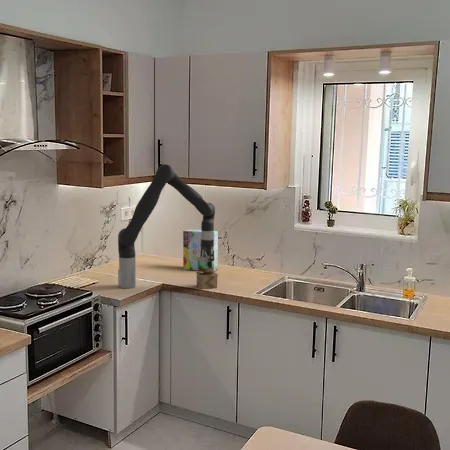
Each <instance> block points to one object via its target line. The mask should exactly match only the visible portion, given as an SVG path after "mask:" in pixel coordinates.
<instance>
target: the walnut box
mask: <svg viewBox="0 0 450 450" xmlns="http://www.w3.org/2000/svg"><path fill="white" fill-rule="evenodd" d="M195 273H196V286H197V287H198V288H200V289H201V290H209V289H210V290H211V289H217V288H218V276H219V274H218V273H216V271H214V272H213V273H212V274H199V271H196V272H195Z"/></svg>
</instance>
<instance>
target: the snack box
mask: <svg viewBox="0 0 450 450" xmlns="http://www.w3.org/2000/svg"><path fill="white" fill-rule="evenodd" d="M182 235H183V236H182V239H183V241H182V243H183V244H182V247H183V248H182V249H183V256H182V257H183V263H182V265H183V270H185V271H186V270H188V271H198V262H197V257H201V229H189V228H188V229H185V230H183V233H182ZM218 246H219V231H218V230H217V231H216V230H214V246H213V247H212V248H211V250H214V257H215V259H214V265H213V272H216V271H218V270H219V267H218V266H219V265H218V264H219V263H218V262H219V261H218V260H219V257H218V256H219V252H218V251H219V247H218Z"/></svg>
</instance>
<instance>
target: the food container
mask: <svg viewBox="0 0 450 450" xmlns="http://www.w3.org/2000/svg"><path fill="white" fill-rule="evenodd" d="M212 259H213V258H212ZM214 259H215V257H214ZM197 262H198V270H197V272H199V274H212V273H213V265H214V261H212V268H208V258H207V257H206V256H204V257H197Z"/></svg>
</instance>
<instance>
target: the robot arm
mask: <svg viewBox="0 0 450 450" xmlns="http://www.w3.org/2000/svg"><path fill="white" fill-rule="evenodd" d="M167 184H168V185H170V186H171V187H172V188H173V189H175V190H176V191H177V192H178V193H180V195H181V196H182V197H184V199H185V200H187V201H188V202H189V203H190V204H192V206H194V208H195V209H196V210H197V211H198V212H199V213H200V214H201V215H202V221H201V228H200V230H201V257H204V256H206V257H207V258H208V268H212V261H214V250H211V248H212V247H213V246H214V231H215V230H214V229H215V224H214V223H215V215H216V208H215V205H214V204H213V203H211V202H206V200H205V199H203V196H202V195H201V194H200V193H199V192H197V190H195V189H194V188H193V187H191V186H190V185H188V184H187V182H185V181H183V180H182V179H181V178H180V177H179V176H178V174H177V173H176V172H175V170H174V169H173V168H172V167H171V165H170V164H165V163H164V164H161V165H160V166H158V168H157V169H156V172H155V175H154V177H153V179H152V181H151V183H150V184H149V185H148V187H147V189H146V190H145V192H144V193H143V194H142V197H140V200H139V201H138V203H137V204H136V206H135V209H134V211H133V214H132V217H131V220H130V221H129V223H128V224H127V226H126V227H125V228H122V229H120V231H119V232H118V235H117V244H118V245H117V246H118V247H117V248H118V251H117V252H118V269H117V271H118V272H117V274H118V275H117V277H118V278H117V281H118V283H117V286H118V287H119V288H120V289H131V288H133V289H134V288H135V287H136V283H137V281H136V280H137V279H136V278H137V277H136V276H137V274H136V267H137V266H136V248H135V242H136V241H137V239H138V236H139V234H140V232H141V230H142V228H143V226H144V225H145V223H146V222H147V221H148V219H149V217H150V216H151V214H152V213H153V211H154V210H155V207H156V206H157V204H158V201H159V199H160V197H161V194H162V191H163V189H164V187H165V186H166V185H167ZM212 258H213V259H212Z"/></svg>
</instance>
